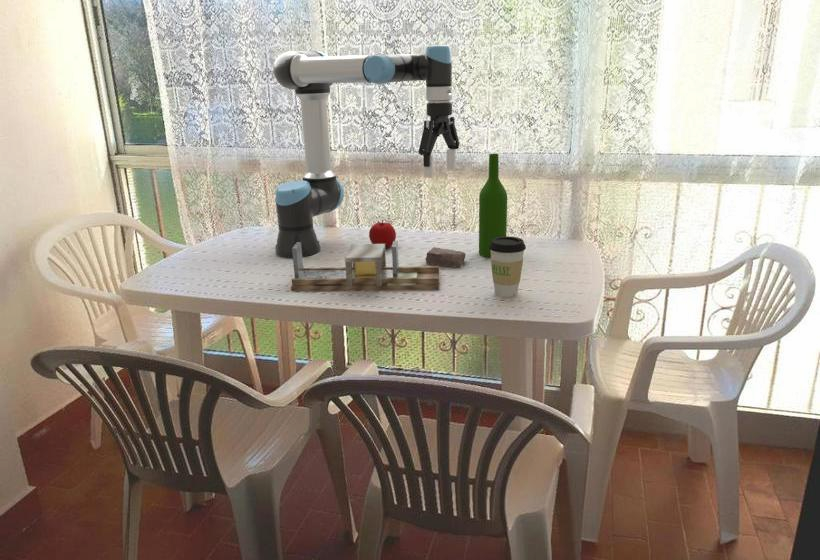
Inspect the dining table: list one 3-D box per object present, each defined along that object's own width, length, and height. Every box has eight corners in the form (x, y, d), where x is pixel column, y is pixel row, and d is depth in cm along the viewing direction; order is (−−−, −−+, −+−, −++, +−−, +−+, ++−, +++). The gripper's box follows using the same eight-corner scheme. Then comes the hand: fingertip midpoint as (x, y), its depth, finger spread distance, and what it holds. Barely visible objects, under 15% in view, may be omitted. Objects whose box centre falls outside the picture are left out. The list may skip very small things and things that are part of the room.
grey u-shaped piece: (294, 281, 181) (291, 248, 178) (300, 273, 188) (297, 241, 185) (397, 280, 180) (395, 247, 176) (399, 271, 187) (397, 240, 183)
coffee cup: (484, 288, 176) (485, 236, 171) (519, 286, 177) (520, 234, 172) (492, 300, 167) (493, 246, 162) (528, 298, 168) (530, 244, 163)
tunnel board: (291, 290, 179) (288, 258, 176) (301, 274, 192) (298, 244, 189) (438, 289, 176) (438, 256, 173) (439, 273, 190) (438, 242, 186)
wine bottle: (507, 250, 210) (509, 152, 199) (504, 258, 202) (507, 156, 191) (480, 249, 212) (481, 152, 201) (477, 257, 204) (477, 156, 193)
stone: (460, 269, 194) (460, 254, 192) (424, 266, 197) (423, 252, 196) (467, 260, 202) (467, 246, 200) (432, 258, 205) (431, 244, 204)
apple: (398, 243, 222) (397, 216, 218) (393, 251, 213) (392, 222, 210) (373, 243, 223) (371, 215, 220) (367, 250, 215) (365, 222, 212)
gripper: (427, 104, 173) (429, 181, 180) (470, 98, 192) (470, 168, 199) (405, 104, 177) (407, 179, 184) (449, 98, 196) (449, 166, 203)
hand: (440, 174), depth 192 cm, fingers open, 13 cm apart
